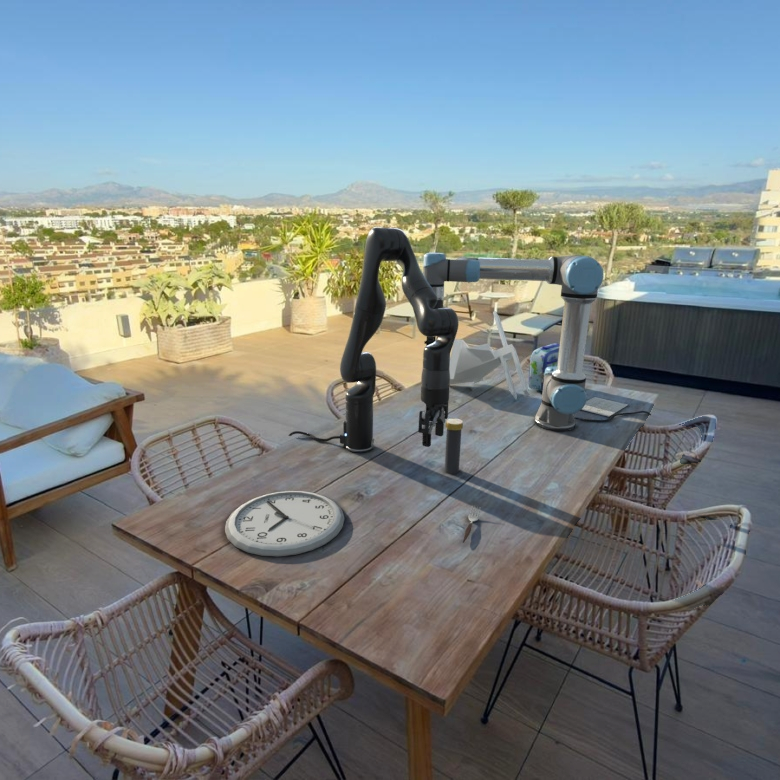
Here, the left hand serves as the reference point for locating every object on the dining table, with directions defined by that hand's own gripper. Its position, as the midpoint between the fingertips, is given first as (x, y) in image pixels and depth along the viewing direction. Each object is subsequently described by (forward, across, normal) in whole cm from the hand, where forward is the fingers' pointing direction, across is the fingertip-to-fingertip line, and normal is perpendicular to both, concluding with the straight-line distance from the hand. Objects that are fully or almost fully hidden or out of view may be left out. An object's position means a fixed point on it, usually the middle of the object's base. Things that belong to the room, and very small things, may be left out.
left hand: (432, 440), depth 143 cm
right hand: (-11, -47, -22) cm, 53 cm away
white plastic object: (+17, -102, -21) cm, 105 cm away
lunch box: (+17, -126, +5) cm, 128 cm away
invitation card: (+17, -110, +31) cm, 115 cm away
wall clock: (+17, +31, -27) cm, 44 cm away
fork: (+17, +10, +15) cm, 25 cm away
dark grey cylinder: (+17, -19, -1) cm, 25 cm away
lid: (+1, -19, -1) cm, 19 cm away
